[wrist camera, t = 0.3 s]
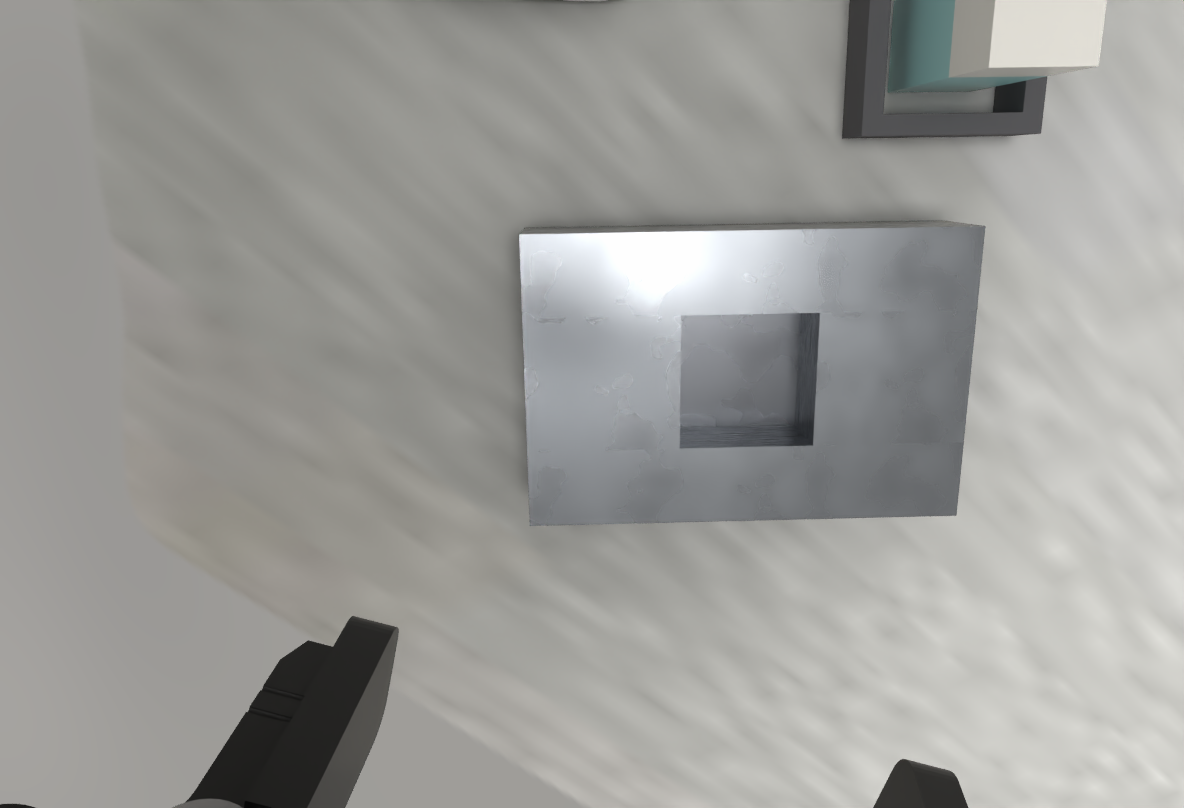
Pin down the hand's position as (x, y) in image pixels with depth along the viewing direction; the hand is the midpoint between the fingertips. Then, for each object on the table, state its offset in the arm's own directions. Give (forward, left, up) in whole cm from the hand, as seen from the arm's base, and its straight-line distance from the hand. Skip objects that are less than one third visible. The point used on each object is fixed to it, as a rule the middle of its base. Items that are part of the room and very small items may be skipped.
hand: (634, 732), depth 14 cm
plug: (-13, +14, -26) cm, 32 cm away
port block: (0, +6, -26) cm, 27 cm away
